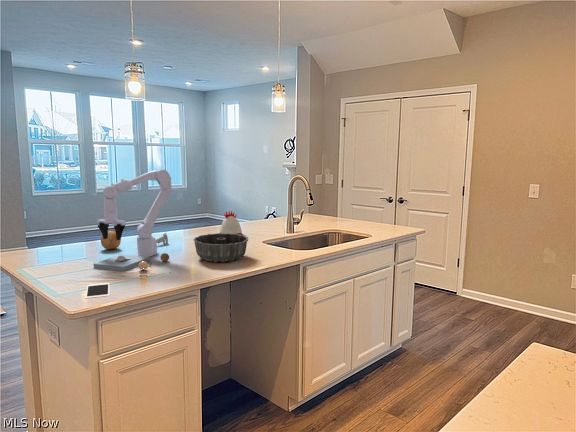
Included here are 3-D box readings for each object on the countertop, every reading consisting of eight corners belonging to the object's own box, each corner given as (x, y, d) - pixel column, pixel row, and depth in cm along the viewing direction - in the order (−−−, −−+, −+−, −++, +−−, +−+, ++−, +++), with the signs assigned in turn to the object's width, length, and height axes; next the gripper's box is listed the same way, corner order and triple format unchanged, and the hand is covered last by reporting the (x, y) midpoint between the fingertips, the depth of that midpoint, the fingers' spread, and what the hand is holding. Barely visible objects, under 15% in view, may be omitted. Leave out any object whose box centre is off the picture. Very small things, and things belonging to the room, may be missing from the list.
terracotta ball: (142, 268, 185) (142, 259, 184) (150, 269, 184) (149, 260, 183) (136, 271, 181) (136, 262, 180) (144, 272, 180) (144, 262, 179)
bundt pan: (259, 256, 209) (259, 236, 208) (225, 268, 187) (225, 246, 185) (218, 249, 223) (217, 231, 221) (182, 260, 200) (181, 239, 199)
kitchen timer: (217, 233, 268) (216, 210, 265) (237, 231, 273) (237, 209, 271) (223, 237, 255) (222, 213, 253) (244, 235, 261) (244, 211, 259)
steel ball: (123, 264, 194) (119, 256, 194) (129, 261, 192) (125, 253, 192) (117, 266, 190) (113, 259, 190) (122, 263, 189) (118, 255, 189)
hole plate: (121, 258, 202) (121, 254, 202) (149, 261, 198) (149, 257, 197) (93, 267, 185) (93, 263, 185) (123, 271, 181) (123, 266, 180)
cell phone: (109, 284, 164) (109, 282, 164) (109, 297, 150) (109, 295, 150) (87, 286, 161) (87, 284, 161) (85, 299, 147) (85, 298, 147)
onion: (104, 252, 214) (103, 233, 213) (98, 249, 222) (97, 230, 220) (123, 249, 220) (122, 231, 219) (117, 246, 228) (116, 228, 226)
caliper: (166, 243, 237) (166, 232, 236) (168, 243, 237) (167, 233, 236) (138, 250, 219) (137, 239, 218) (139, 251, 219) (139, 239, 218)
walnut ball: (163, 260, 200) (163, 251, 199) (171, 260, 199) (170, 252, 198) (158, 262, 196) (158, 253, 195) (166, 262, 195) (165, 254, 194)
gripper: (92, 211, 197) (93, 239, 199) (117, 213, 193) (119, 241, 195) (102, 209, 204) (104, 237, 206) (127, 211, 200) (129, 239, 202)
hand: (112, 239), depth 201 cm, fingers open, 7 cm apart
